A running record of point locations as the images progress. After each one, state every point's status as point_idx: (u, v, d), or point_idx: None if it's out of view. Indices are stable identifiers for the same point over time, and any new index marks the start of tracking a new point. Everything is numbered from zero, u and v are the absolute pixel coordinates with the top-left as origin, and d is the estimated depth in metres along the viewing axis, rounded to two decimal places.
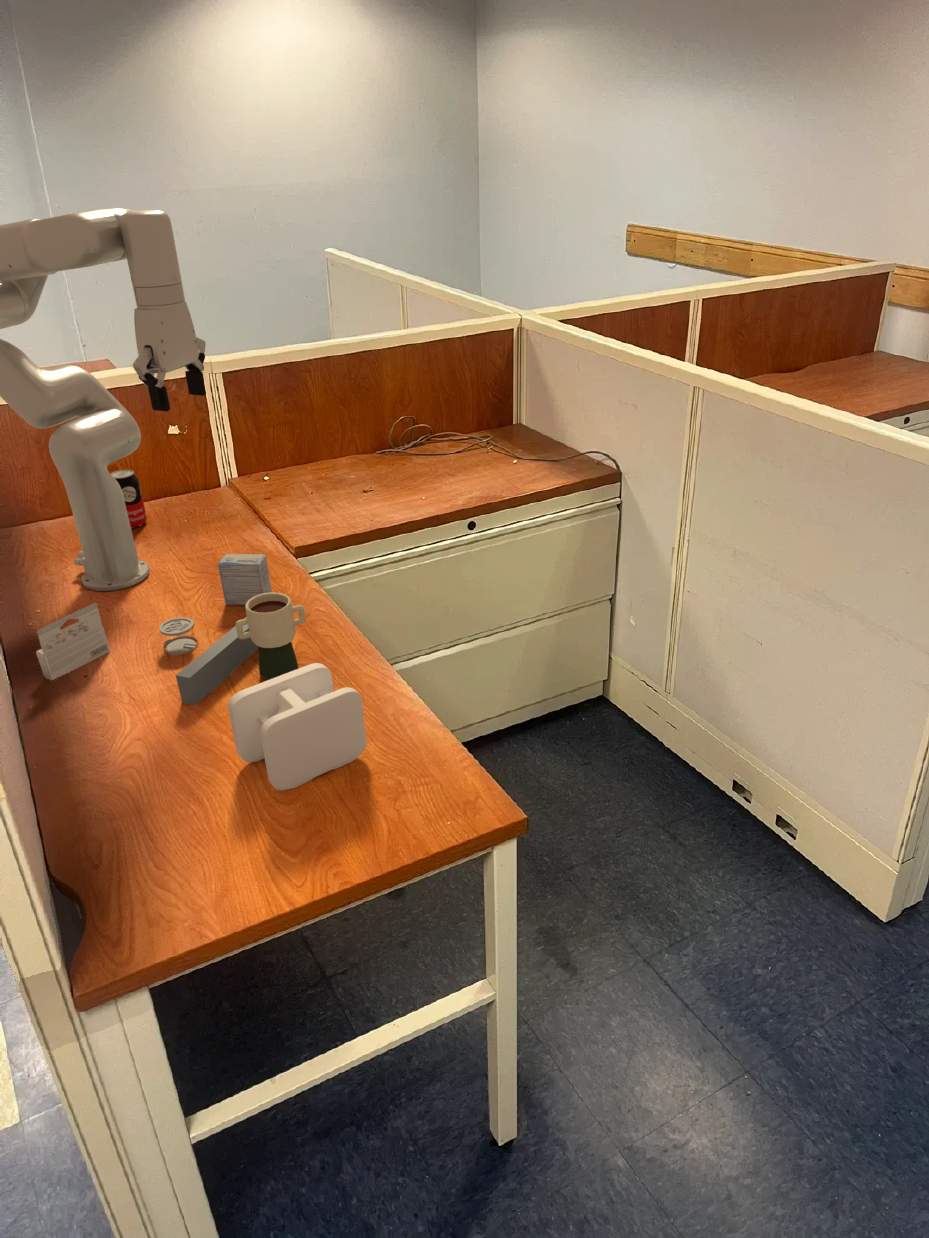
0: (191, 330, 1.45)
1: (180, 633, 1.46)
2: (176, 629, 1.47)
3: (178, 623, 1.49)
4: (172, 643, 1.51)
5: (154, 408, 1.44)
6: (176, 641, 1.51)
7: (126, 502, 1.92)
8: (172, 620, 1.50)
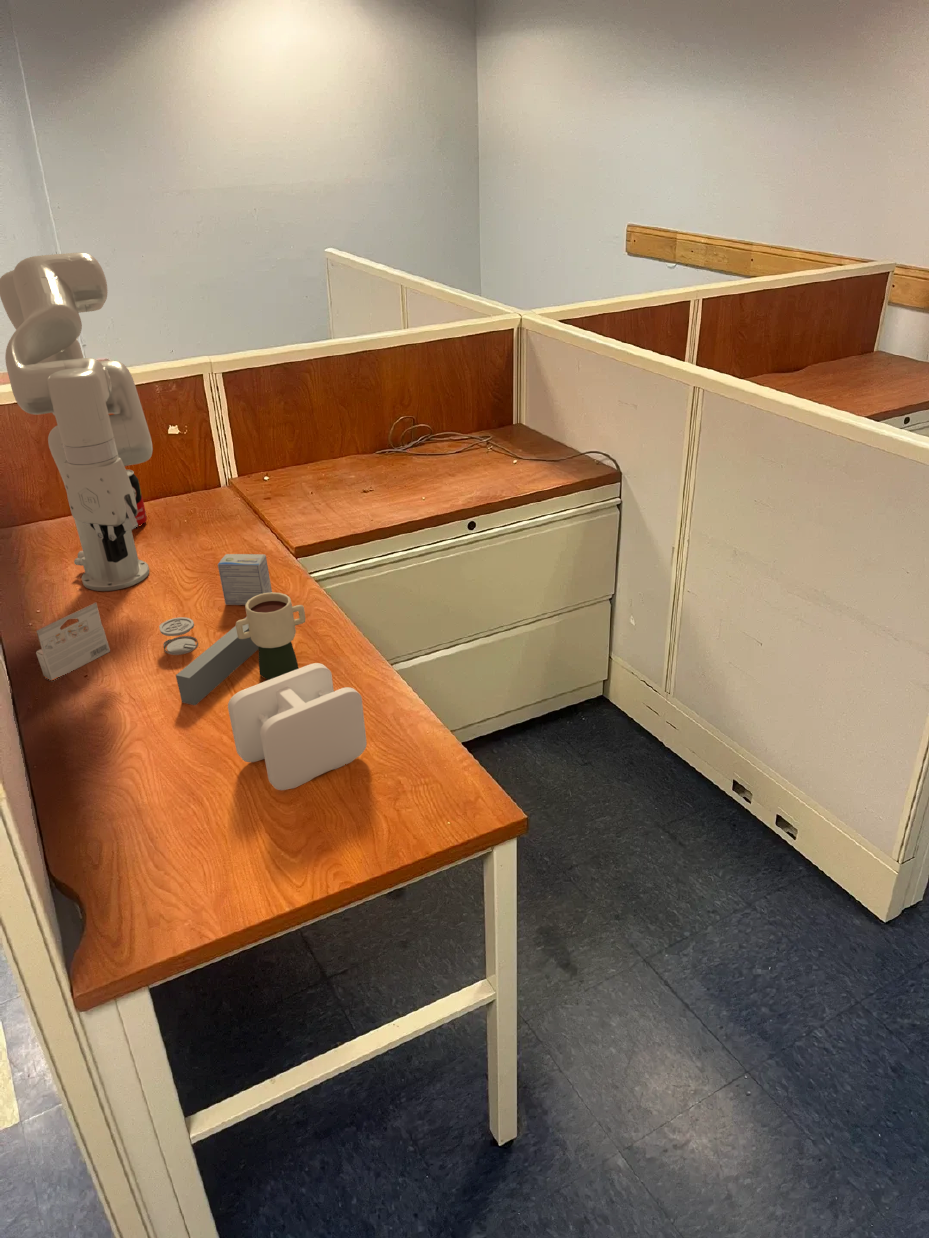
0: None
1: (180, 633, 1.46)
2: (176, 629, 1.47)
3: (178, 623, 1.49)
4: (172, 643, 1.51)
5: (116, 560, 1.44)
6: (176, 641, 1.51)
7: None
8: (172, 620, 1.50)
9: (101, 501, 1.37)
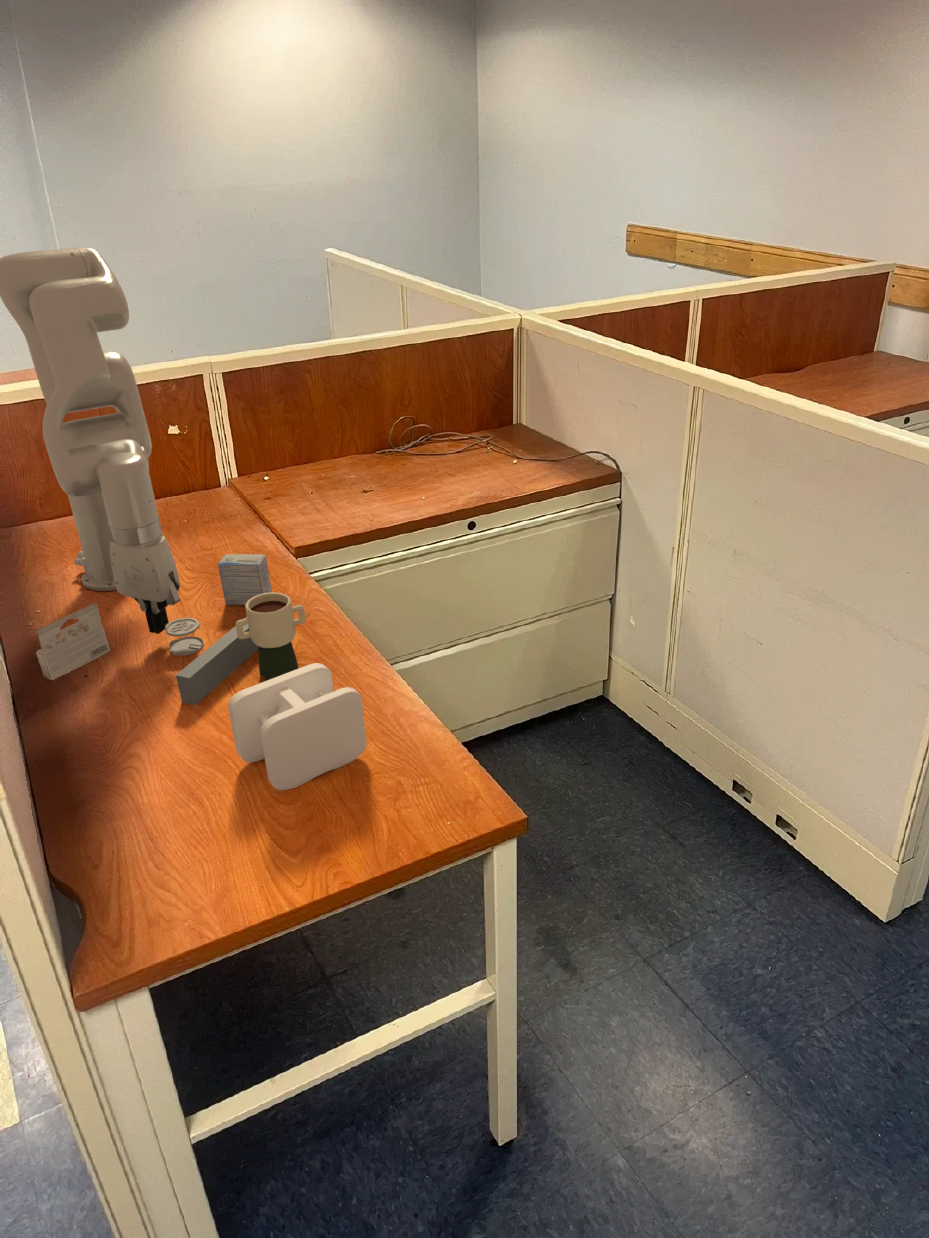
0: None
1: (185, 634, 1.46)
2: (181, 629, 1.47)
3: (184, 623, 1.48)
4: (177, 643, 1.50)
5: (158, 631, 1.49)
6: (181, 641, 1.51)
7: None
8: (178, 620, 1.49)
9: (146, 579, 1.41)
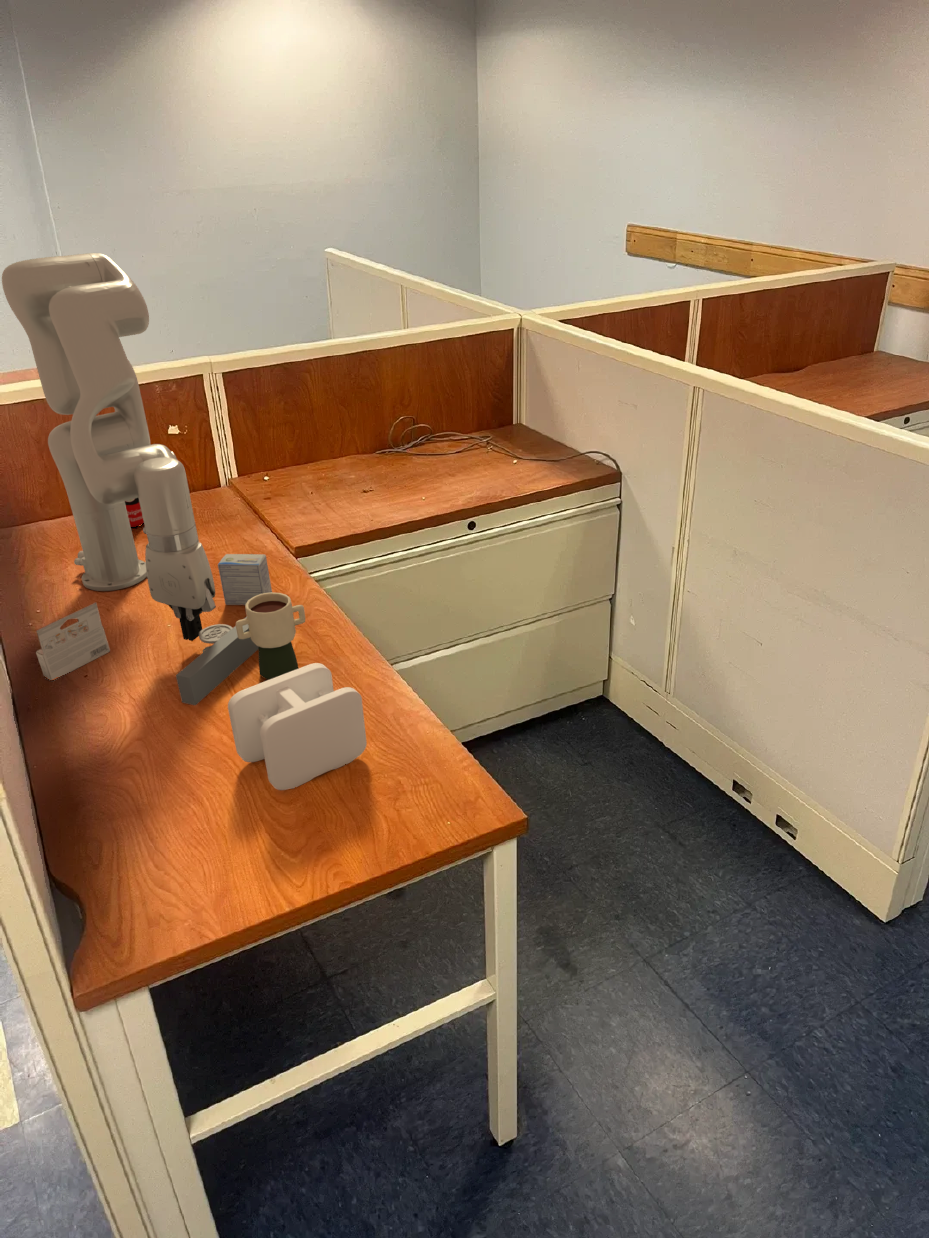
0: None
1: None
2: (215, 636, 1.44)
3: (218, 630, 1.46)
4: None
5: (192, 638, 1.47)
6: None
7: (126, 502, 1.92)
8: (212, 627, 1.47)
9: (182, 586, 1.39)
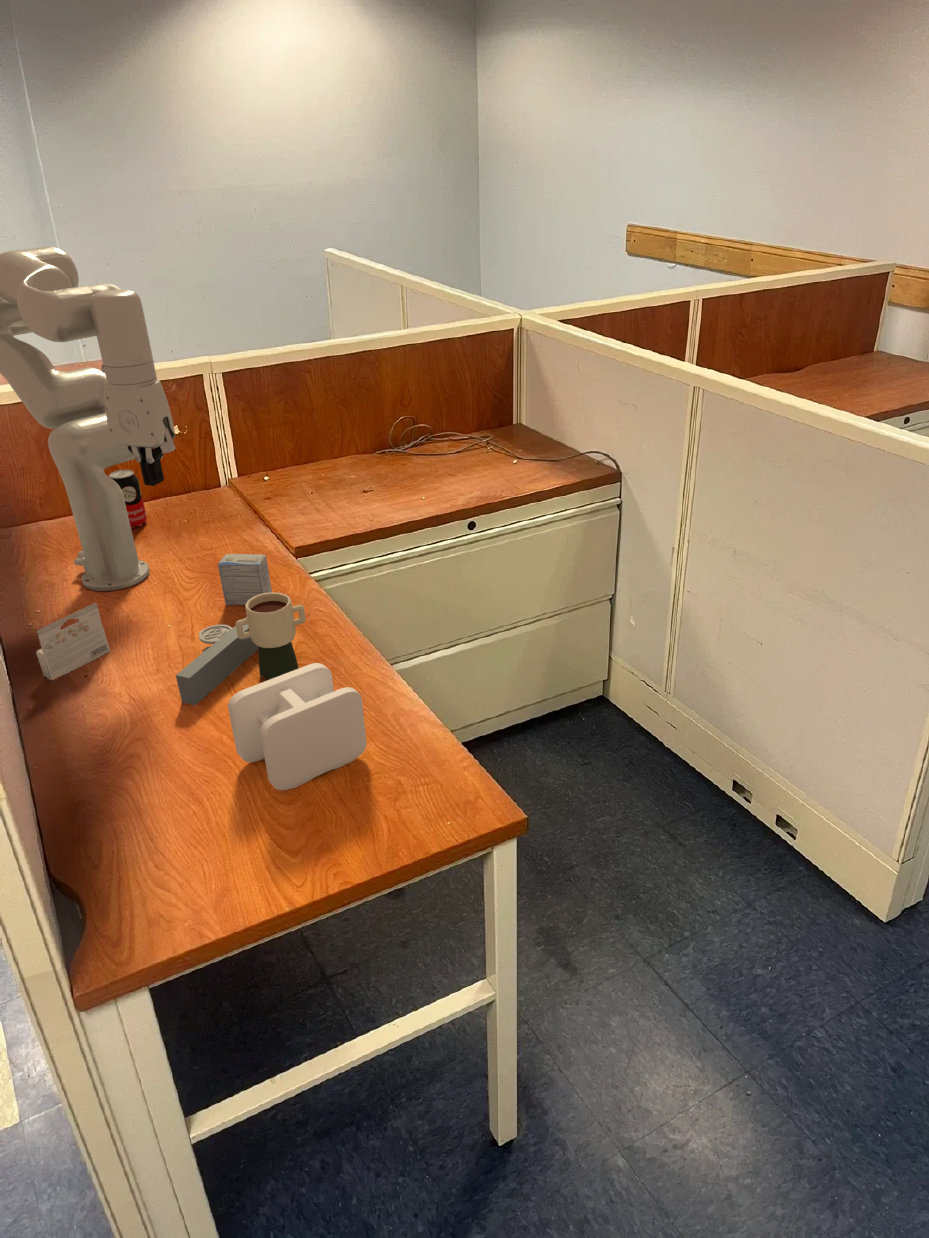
0: None
1: None
2: (215, 637, 1.44)
3: (218, 631, 1.46)
4: None
5: (153, 484, 1.47)
6: None
7: (126, 502, 1.92)
8: (212, 627, 1.47)
9: (140, 422, 1.40)
